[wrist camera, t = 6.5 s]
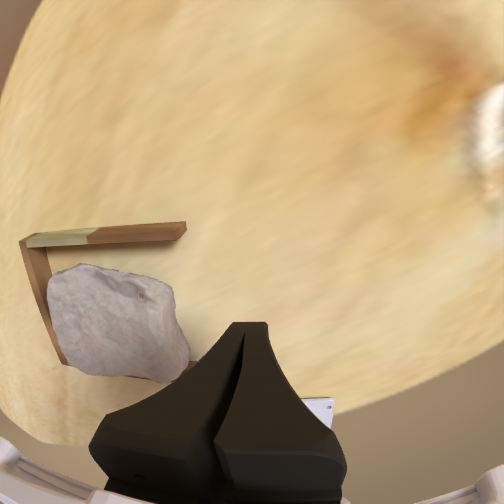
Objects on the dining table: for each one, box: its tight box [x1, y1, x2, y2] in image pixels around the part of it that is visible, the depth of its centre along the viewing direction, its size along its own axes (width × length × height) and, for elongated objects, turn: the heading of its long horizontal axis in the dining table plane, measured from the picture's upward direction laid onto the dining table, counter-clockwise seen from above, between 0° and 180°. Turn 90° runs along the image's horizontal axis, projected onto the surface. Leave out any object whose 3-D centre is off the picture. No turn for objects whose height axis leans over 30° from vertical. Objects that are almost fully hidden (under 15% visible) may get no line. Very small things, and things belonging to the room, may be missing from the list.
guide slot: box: [19, 222, 197, 382], centre depth 23 cm, size 13×15×2 cm
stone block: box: [47, 263, 190, 383], centre depth 24 cm, size 12×5×10 cm
